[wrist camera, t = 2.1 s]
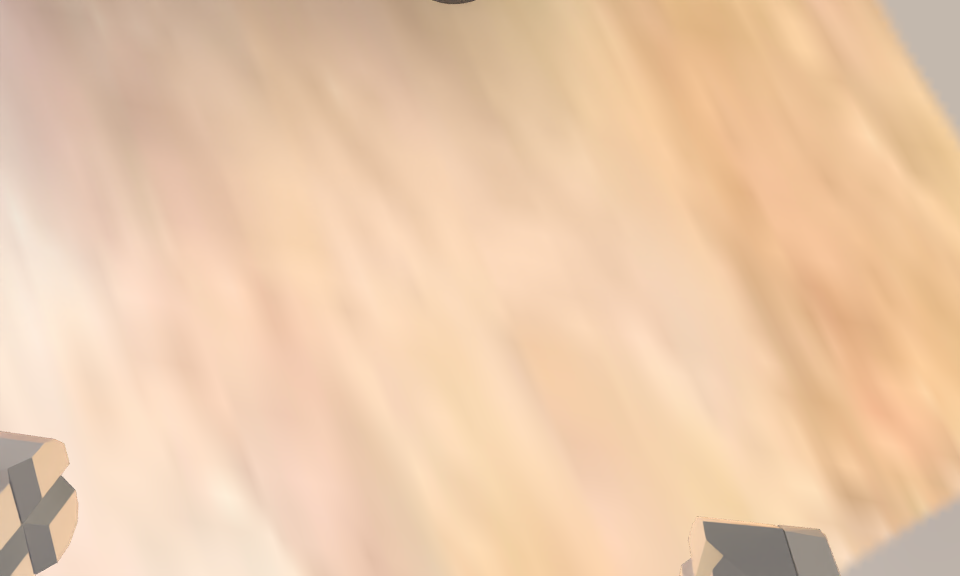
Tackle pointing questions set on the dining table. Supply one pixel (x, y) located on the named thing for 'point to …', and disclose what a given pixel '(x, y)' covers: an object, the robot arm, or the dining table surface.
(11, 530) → the robot arm
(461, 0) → the lens
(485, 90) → the dining table surface
